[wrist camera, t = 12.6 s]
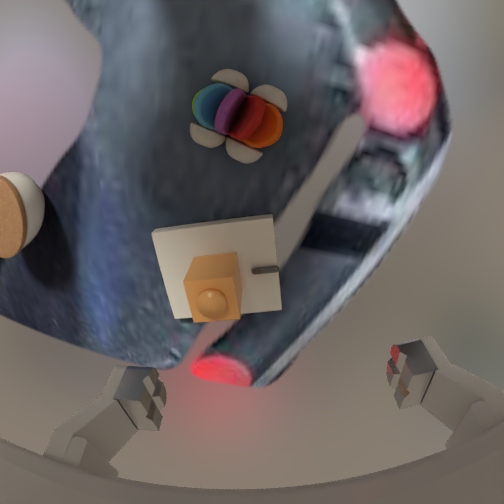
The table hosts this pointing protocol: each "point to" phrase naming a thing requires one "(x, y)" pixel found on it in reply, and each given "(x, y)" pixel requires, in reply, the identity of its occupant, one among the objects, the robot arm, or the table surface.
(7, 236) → the lidded jar
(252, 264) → the plate
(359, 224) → the table surface
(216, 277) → the orange cube with dome
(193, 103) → the rainbow segmented toy
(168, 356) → the table surface
